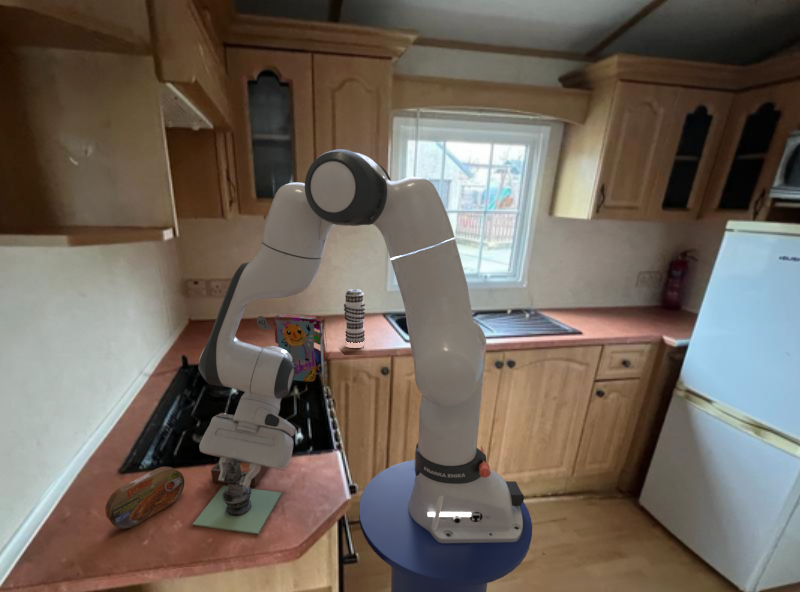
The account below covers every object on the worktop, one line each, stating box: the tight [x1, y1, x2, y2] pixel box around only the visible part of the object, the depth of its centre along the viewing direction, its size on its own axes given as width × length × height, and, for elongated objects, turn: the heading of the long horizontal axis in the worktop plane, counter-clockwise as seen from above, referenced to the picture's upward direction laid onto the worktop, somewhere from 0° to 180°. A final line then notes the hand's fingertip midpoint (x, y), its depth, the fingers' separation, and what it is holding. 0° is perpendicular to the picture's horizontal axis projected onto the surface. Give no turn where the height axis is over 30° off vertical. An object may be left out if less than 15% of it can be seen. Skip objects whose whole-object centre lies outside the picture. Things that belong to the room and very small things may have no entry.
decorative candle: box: [343, 288, 366, 343], centre depth 178 cm, size 9×9×25 cm
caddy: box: [210, 461, 269, 488], centre depth 98 cm, size 11×11×3 cm
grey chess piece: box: [222, 459, 252, 516], centre depth 84 cm, size 6×6×12 cm
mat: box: [192, 485, 282, 535], centre depth 86 cm, size 14×12×1 cm
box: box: [256, 312, 330, 389], centre depth 143 cm, size 25×6×24 cm, turn 73°
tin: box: [104, 466, 185, 530], centre depth 84 cm, size 15×3×8 cm, turn 143°
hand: (233, 484), depth 83 cm, fingers closed on grey chess piece, 4 cm apart
